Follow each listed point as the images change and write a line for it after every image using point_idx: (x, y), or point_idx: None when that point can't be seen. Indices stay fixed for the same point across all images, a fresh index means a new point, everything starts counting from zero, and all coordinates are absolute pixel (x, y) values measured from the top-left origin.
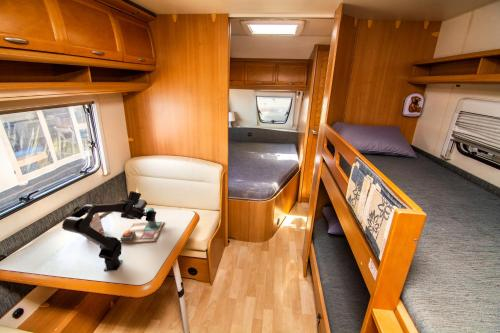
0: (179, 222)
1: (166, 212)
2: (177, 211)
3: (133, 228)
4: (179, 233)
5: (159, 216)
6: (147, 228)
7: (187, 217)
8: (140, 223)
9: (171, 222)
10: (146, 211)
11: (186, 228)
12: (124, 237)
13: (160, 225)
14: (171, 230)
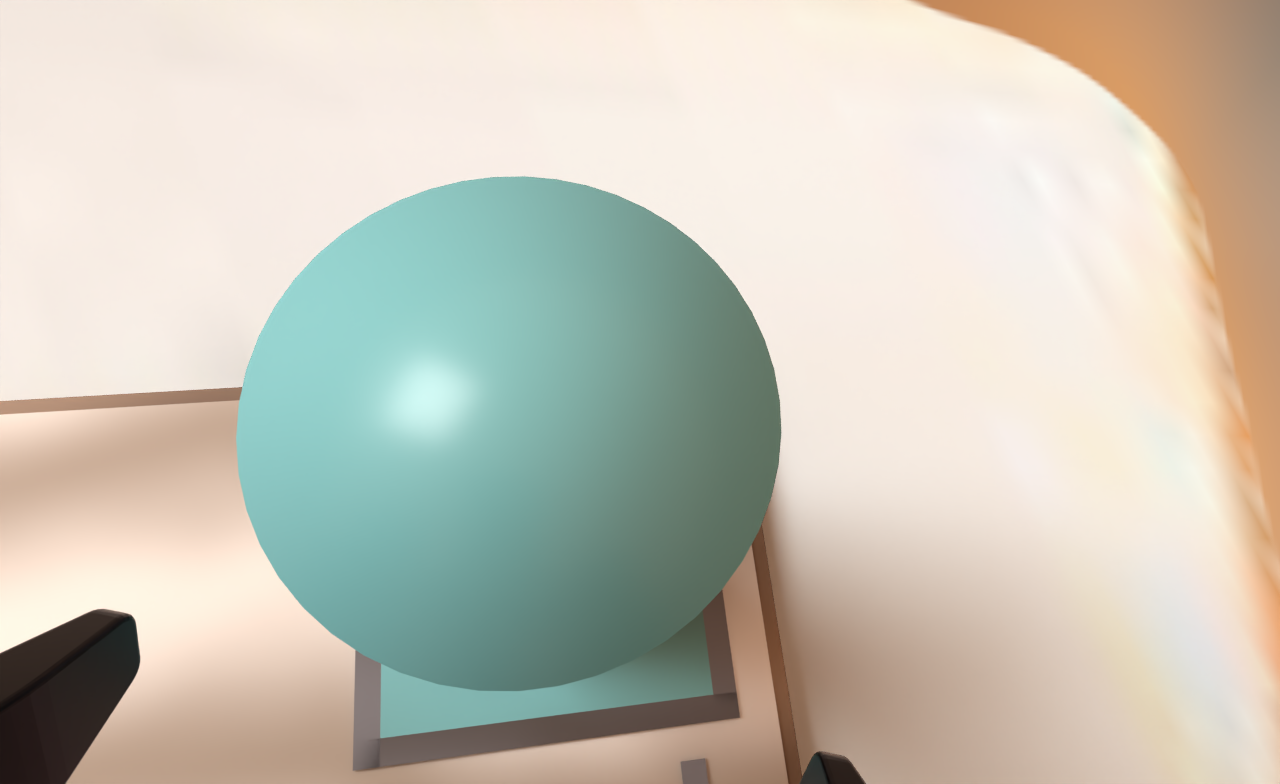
0: (1027, 369)
1: (621, 36)
2: (819, 25)
3: None
4: (1231, 773)
5: (529, 150)
6: None
7: (1092, 217)
8: (173, 417)
9: (869, 364)
10: (343, 632)
11: (1268, 580)
12: None
13: None
14: (1007, 659)
